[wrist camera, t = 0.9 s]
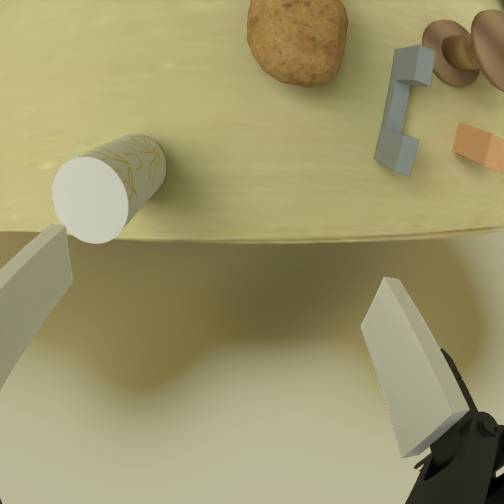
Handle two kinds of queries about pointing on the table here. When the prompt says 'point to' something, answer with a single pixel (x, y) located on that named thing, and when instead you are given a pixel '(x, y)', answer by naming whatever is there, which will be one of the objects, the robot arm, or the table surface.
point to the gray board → (402, 107)
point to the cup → (107, 186)
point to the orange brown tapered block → (480, 147)
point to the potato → (298, 39)
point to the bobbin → (468, 49)
